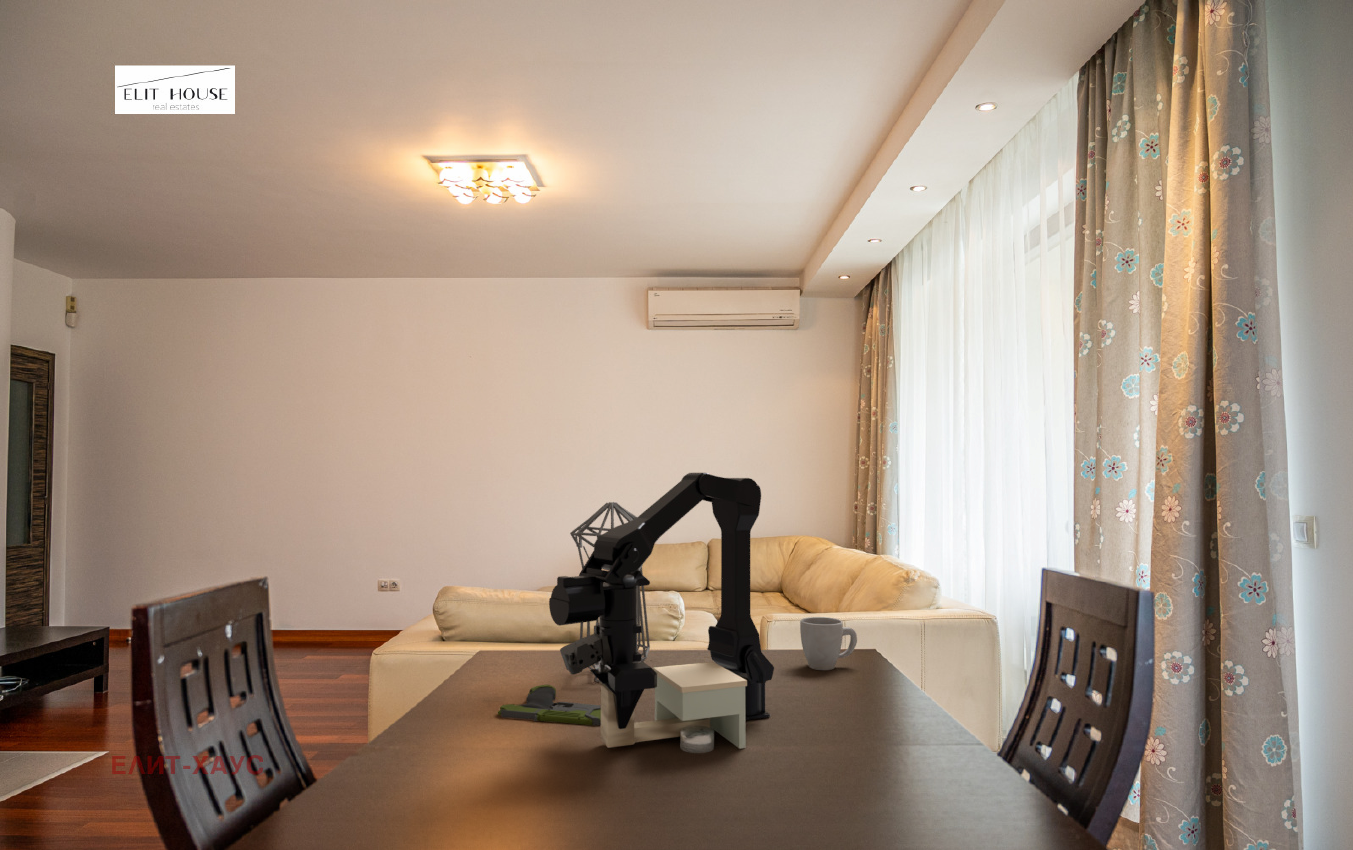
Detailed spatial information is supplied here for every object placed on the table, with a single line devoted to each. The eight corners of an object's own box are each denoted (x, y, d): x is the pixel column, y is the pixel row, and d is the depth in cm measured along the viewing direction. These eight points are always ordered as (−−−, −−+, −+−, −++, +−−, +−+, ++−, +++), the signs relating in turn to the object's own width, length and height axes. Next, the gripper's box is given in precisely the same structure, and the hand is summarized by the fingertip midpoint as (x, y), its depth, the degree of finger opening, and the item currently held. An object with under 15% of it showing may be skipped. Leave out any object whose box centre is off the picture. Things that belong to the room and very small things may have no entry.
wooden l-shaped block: (702, 726, 122) (702, 674, 123) (712, 734, 118) (712, 680, 119) (600, 738, 116) (600, 684, 117) (607, 747, 112) (608, 691, 113)
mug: (806, 672, 158) (806, 625, 159) (796, 662, 167) (795, 617, 168) (863, 671, 159) (863, 624, 160) (850, 661, 168) (849, 616, 169)
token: (706, 740, 118) (705, 723, 118) (719, 751, 114) (719, 734, 114) (675, 744, 116) (675, 727, 117) (687, 755, 112) (687, 738, 112)
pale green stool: (713, 723, 126) (713, 661, 127) (747, 748, 114) (747, 680, 115) (653, 730, 122) (653, 667, 123) (681, 757, 111) (681, 687, 111)
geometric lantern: (652, 687, 147) (648, 503, 149) (570, 689, 147) (566, 505, 149) (656, 666, 163) (652, 499, 165) (581, 668, 163) (578, 501, 165)
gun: (629, 704, 139) (602, 734, 124) (530, 696, 143) (493, 723, 128) (629, 690, 139) (603, 718, 124) (530, 682, 143) (493, 708, 128)
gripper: (552, 610, 122) (551, 712, 121) (580, 633, 105) (579, 751, 104) (620, 606, 126) (619, 704, 125) (658, 627, 109) (658, 741, 108)
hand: (617, 724), depth 115 cm, fingers closed on wooden l-shaped block, 4 cm apart
